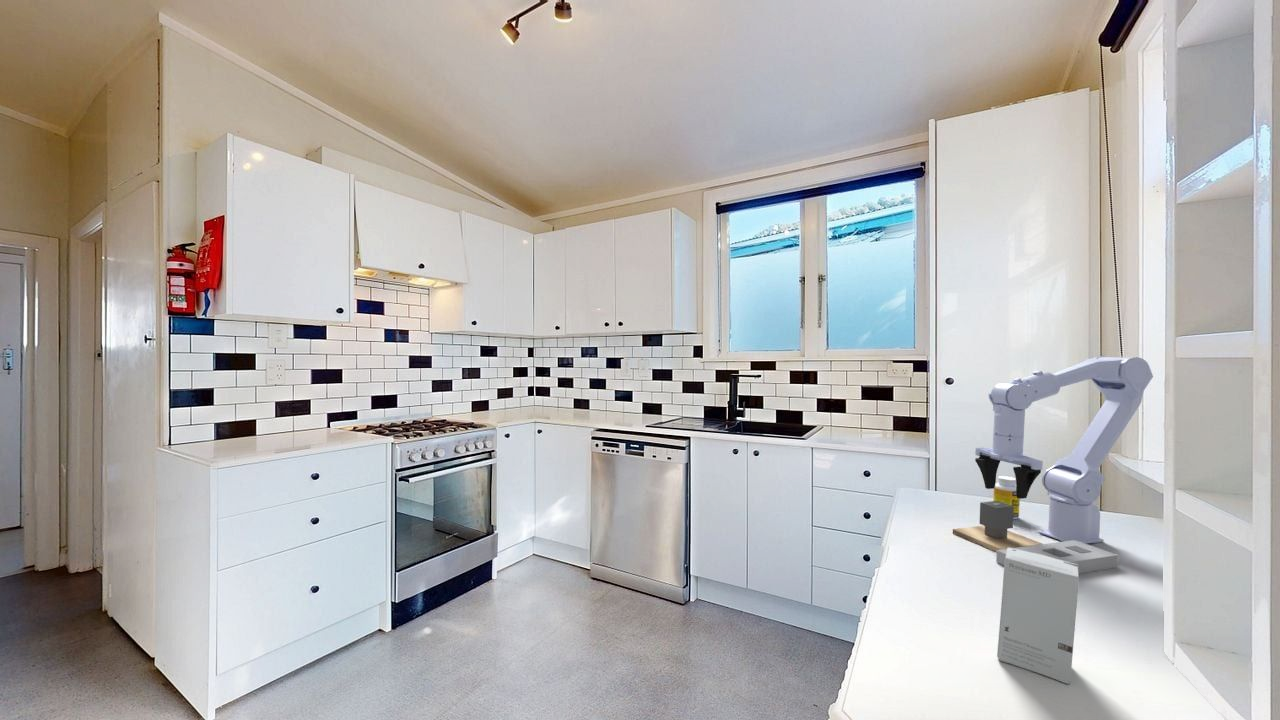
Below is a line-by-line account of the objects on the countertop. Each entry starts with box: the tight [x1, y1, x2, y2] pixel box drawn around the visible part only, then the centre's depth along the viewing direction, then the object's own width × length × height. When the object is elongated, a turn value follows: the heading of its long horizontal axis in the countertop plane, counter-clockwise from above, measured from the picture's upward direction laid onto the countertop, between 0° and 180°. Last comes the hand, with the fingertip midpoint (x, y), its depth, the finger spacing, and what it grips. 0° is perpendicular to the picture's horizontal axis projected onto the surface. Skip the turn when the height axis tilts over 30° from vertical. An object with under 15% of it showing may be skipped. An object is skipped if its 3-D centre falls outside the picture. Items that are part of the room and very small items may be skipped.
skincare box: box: [996, 548, 1080, 685], centre depth 71 cm, size 8×6×15 cm
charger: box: [979, 500, 1014, 539], centre depth 115 cm, size 5×4×8 cm
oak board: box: [952, 525, 1043, 553], centre depth 116 cm, size 12×12×1 cm
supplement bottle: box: [992, 475, 1021, 520], centre depth 132 cm, size 6×6×10 cm
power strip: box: [995, 540, 1119, 574], centre depth 103 cm, size 22×8×3 cm, turn 106°
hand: (1005, 493), depth 117 cm, fingers open, 7 cm apart
